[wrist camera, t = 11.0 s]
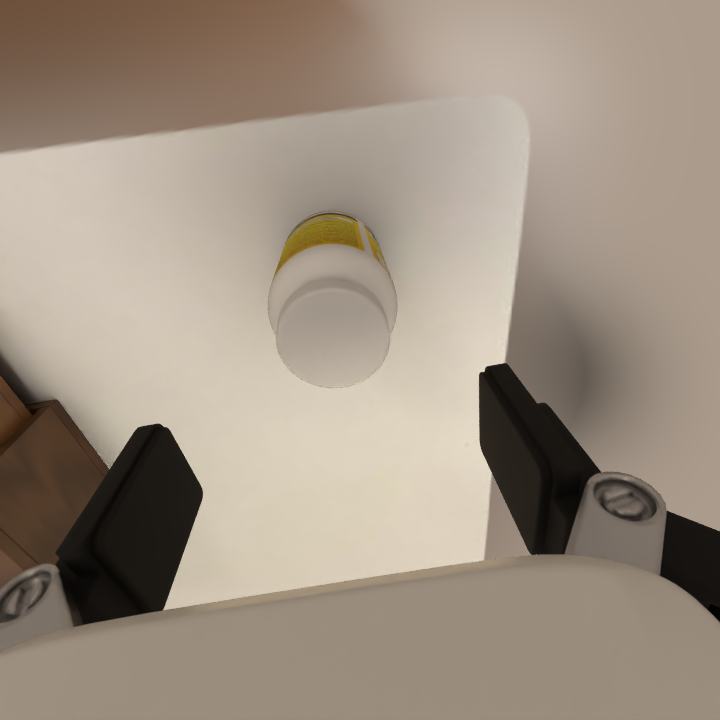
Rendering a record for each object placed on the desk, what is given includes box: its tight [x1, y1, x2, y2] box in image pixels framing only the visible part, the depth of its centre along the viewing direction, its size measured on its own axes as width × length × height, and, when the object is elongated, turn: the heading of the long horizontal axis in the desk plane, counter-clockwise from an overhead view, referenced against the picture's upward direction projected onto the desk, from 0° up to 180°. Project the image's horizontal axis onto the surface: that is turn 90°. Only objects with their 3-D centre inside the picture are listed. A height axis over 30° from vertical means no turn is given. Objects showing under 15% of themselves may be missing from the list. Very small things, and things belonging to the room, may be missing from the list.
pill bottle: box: [268, 211, 397, 388], centre depth 20 cm, size 6×6×11 cm
